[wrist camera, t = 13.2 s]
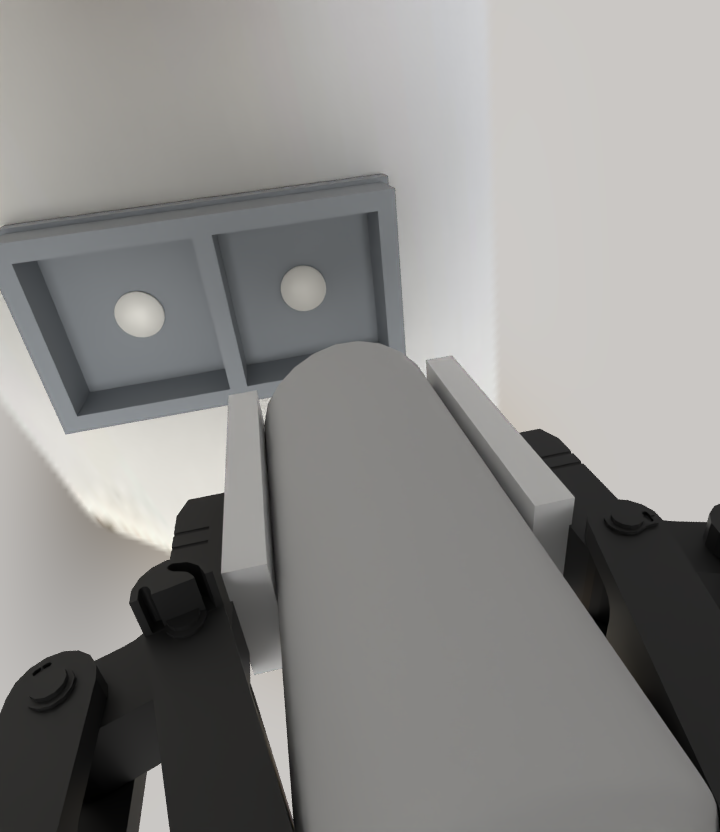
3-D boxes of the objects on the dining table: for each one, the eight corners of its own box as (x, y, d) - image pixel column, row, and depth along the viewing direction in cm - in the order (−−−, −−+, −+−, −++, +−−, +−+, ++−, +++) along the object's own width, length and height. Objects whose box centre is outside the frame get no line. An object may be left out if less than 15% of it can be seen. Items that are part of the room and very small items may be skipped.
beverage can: (246, 465, 16) (254, 1118, 6) (289, 312, 14) (425, 889, 4) (395, 490, 17) (616, 1038, 7) (453, 355, 15) (878, 848, 5)
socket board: (4, 225, 24) (-30, 242, 21) (382, 173, 25) (401, 182, 22) (79, 404, 28) (60, 439, 25) (395, 348, 30) (412, 375, 27)
